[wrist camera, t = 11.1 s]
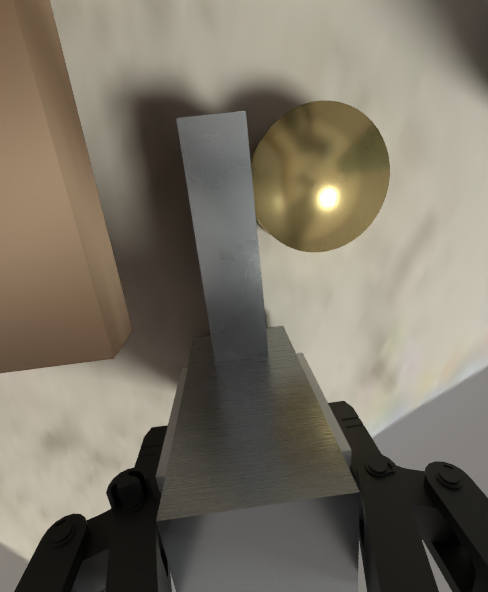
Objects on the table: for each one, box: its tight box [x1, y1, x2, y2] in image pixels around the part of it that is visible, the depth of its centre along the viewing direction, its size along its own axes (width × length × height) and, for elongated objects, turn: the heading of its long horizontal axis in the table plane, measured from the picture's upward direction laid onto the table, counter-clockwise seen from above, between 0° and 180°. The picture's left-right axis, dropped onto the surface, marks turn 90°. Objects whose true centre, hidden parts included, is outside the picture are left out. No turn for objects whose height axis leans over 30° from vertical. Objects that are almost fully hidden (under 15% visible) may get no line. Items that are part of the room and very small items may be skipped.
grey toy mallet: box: [156, 111, 360, 592], centre depth 11 cm, size 15×5×10 cm, turn 6°
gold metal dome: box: [250, 101, 390, 252], centre depth 14 cm, size 6×6×3 cm
